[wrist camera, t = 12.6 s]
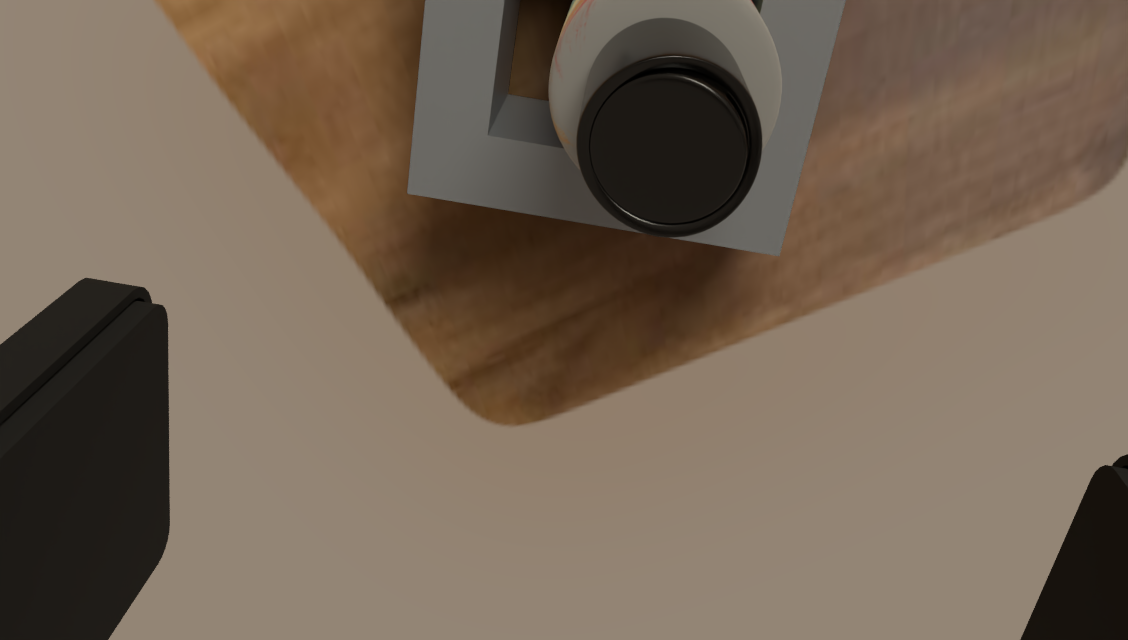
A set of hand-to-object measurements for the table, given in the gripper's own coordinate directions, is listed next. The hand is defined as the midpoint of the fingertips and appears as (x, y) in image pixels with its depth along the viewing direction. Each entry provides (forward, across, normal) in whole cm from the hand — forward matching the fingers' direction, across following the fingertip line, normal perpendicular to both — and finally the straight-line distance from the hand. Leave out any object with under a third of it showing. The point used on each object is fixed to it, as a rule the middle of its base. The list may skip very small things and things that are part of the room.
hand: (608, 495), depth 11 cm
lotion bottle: (+32, -1, 0) cm, 32 cm away
